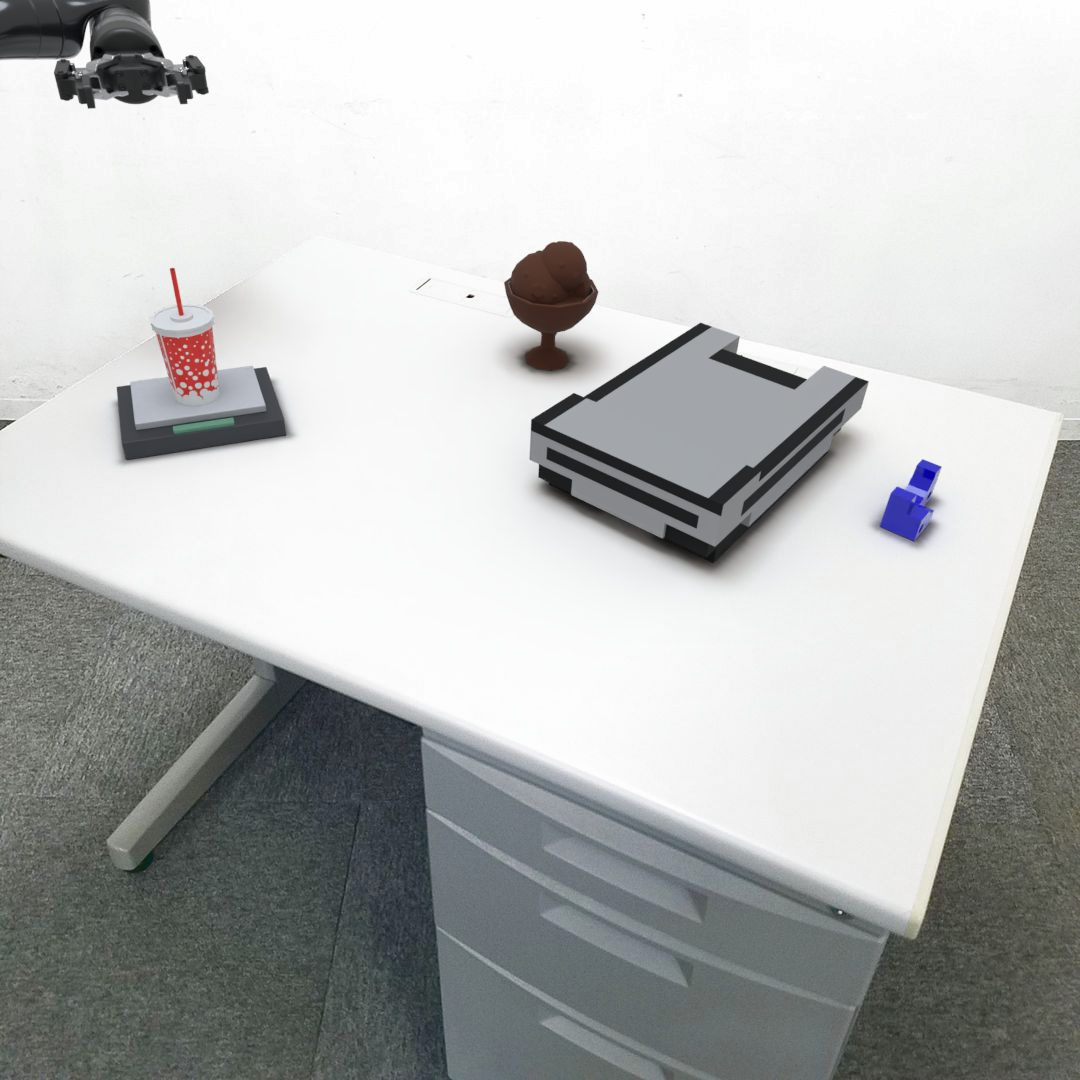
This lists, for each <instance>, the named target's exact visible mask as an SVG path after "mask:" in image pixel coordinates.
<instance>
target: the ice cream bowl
mask: <svg viewBox="0 0 1080 1080" xmlns="http://www.w3.org/2000/svg"><path fill="white" fill-rule="evenodd" d="M503 285H504V291H505V296H506V298H507V301H508V304H509V307H510V309H511V311H512V314H513V316H515V318H516V319H517V320H519V322H521V323H522V324H523V325H525V326H527V327H528V328H530V329H533V330H534V331H536V332H539V333H540V334H541V335H540V336H541V337H540V345H537V346H534V347H532V348H530V349H529V350H528V351H527V352H526V353H525V355H524V360H525V363H526V365H528V366H530V367H532V368H534V369H536V370H543V371H551V372H552V371H556V370H560V369H564V368H565V367H566V366H567V365H568V364H569V363H570V358H569V355H568V353H567V351H566V350H563V349H561V348H559V347H558V346H556V336H557V334H558V333H562V332H566V331H569V330H571V329H572V328H574V327H575V326H577V325H578V324H579V323H580V322H581V321H582V320H584V318H585V317H586V316H588V315H589V314H590V313H591V311H592V309H593V308H594V306H595V304H596V302H597V299H598V296H599V290H598V288H597V286H596V284H595V282H594V280H593V279H591V278H590V276H589V273H588V264H587V260H586V257H585V255H584V253H583V251H582V250H581V249H580V248H579V247H578V246H577V245H575V244H574V243H573V242H572V241H566V240H563V241H562V240H558V241H552V242H550V243H548V244H547V245H545V247H544V248H543V249H542V250H536V251H535V252H532V253H531V252H530V253H528V254H527V255H526V256H524V257H523V258H522V259H521V260H519V261H518V262H517V263H516V264H515V266H514V268H513V269H512V271H511V275H510V277H509V278H508V279H506V280H505V281H504V282H503Z"/></svg>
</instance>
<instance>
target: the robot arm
mask: <svg viewBox="0 0 1080 1080" xmlns="http://www.w3.org/2000/svg"><path fill="white" fill-rule="evenodd" d="M151 8H152V7H151V1H150V0H0V61H16V60H17V61H18V60H19V61H23V60H24V61H30V60H32V61H35V60H36V61H37V60H38V61H39V60H41V61H43V60H44V61H48V60H49V61H50V60H57V61H56V63H55V67H54V71H53V75H54V78H55V83H56V88H57V91H58V95H59V99H60V100H61V101H64V102H65V101H66V102H69V101H71V100H73V99H74V97H77V100H78V103H79V104H80V105H86V107H87V109H88V110H89V109H90V110H91V109H96V108H97V107H96V100H100V101H108V100H110V99H115V100H117V101H119V102H121V103H124V104H128V105H143V104H146V103H149V102H151V101H153V100H155V99H156V98H157V97H158V96H159V97H163V98H171V97H175V96H176V97H177V99H178V102H179V104H180V105H188V103H189V102H188V100H193V99H194V92H193V91H195V93H196V94H198V95H201V96H204V95H207V94H209V93H210V90H209V87H208V82H207V81H208V80H207V75H206V67H205V65H204V64H203V63H202V61H201V60H200V58H199V57H198V56H197V55H194V54H189V55H187V56H185V57H184V58H183V59H182V63H181V64H178V63H177V64H174V62H173V61H172V60H171V59H169V58H166V57H165V53H164V52H163V48H162V46H161V43H160V41H159V39H158V38H157V36H156V34H155V33H154V30H153V29H152V11H151V10H152V9H151ZM87 27H89V55H90V61H88V62H87V63H86V64H85V67H76V66H75V63H74V62H71V61H70V59H71V60H72V59H74V58H76V57H78V56H79V54H80V53H81V52H82V49H83V47H84V41H85V38H86V37H85V36H86V30H87Z"/></svg>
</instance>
